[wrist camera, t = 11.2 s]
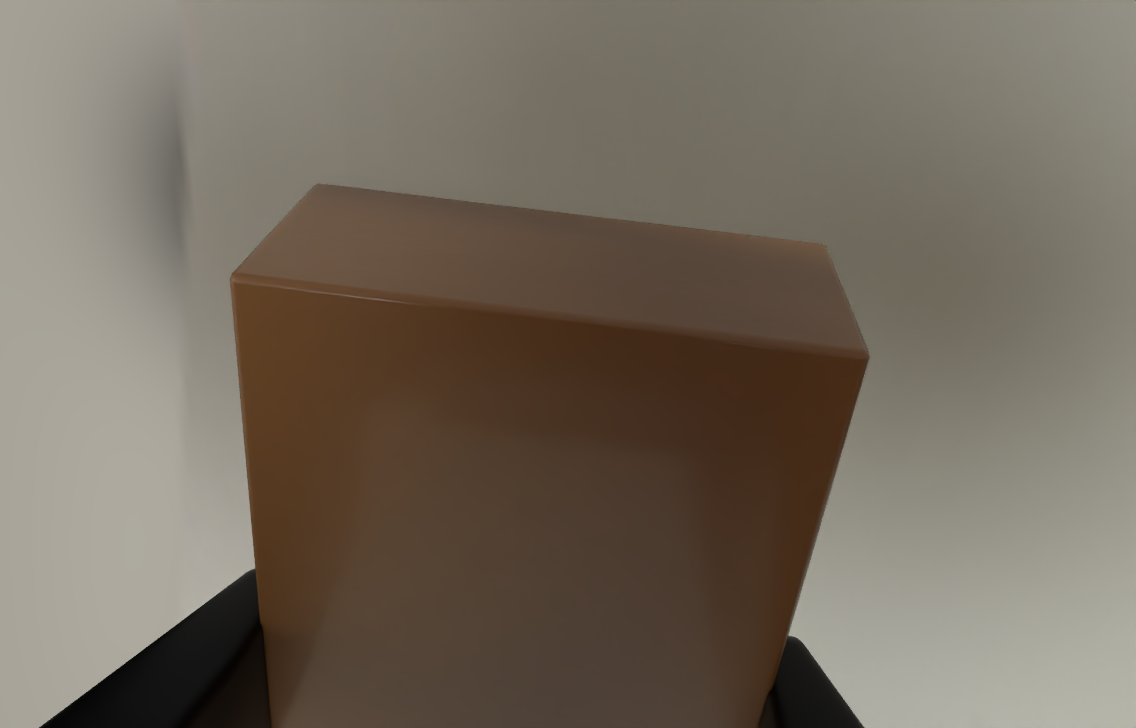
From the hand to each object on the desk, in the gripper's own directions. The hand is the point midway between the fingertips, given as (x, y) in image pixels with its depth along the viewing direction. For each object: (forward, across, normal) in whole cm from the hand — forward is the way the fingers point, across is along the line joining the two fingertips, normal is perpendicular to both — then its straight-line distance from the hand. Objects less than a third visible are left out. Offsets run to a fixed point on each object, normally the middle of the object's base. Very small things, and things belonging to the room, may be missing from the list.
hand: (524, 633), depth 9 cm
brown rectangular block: (+1, 0, 0) cm, 1 cm away
